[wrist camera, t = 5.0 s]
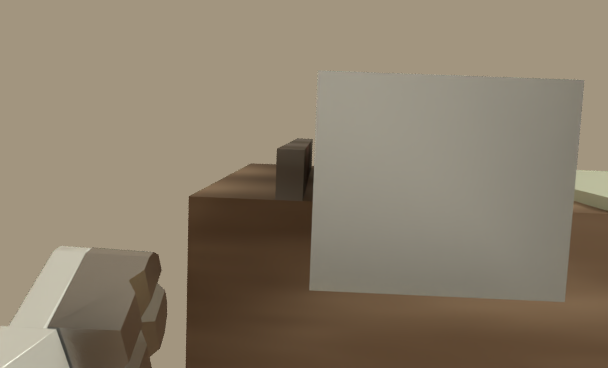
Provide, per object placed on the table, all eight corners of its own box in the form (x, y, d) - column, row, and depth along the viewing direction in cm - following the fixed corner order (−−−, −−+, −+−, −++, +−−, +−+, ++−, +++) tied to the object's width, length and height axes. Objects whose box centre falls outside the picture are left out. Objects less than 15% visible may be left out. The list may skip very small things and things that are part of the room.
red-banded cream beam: (567, 303, 8) (586, 78, 8) (307, 291, 8) (316, 68, 8) (387, 170, 30) (390, 111, 29) (318, 167, 30) (320, 108, 30)
